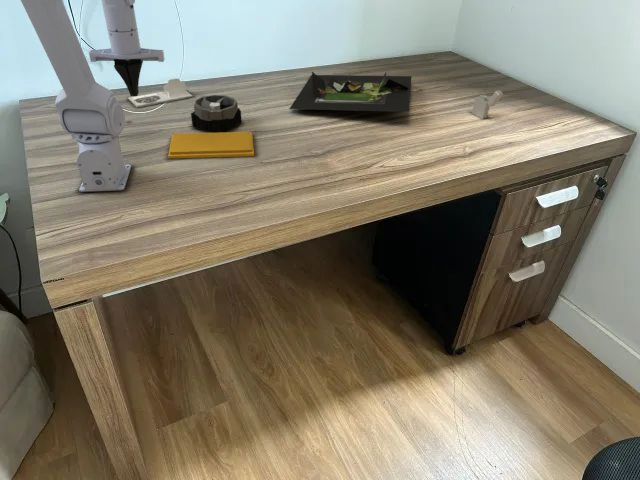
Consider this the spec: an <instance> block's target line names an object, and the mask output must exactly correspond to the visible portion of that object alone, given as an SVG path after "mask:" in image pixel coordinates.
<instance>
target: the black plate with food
mask: <svg viewBox="0 0 640 480" xmlns="http://www.w3.org/2000/svg"><path fill="white" fill-rule="evenodd" d="M412 77H413V76H412V75H387V72H384V74H383V75H351V74H349V75H346V74H345V75H344V74H343V75H341V74H316V73H315V72H314V71H311V75H310V76H309V78H308V80H306V81H307V82H306V83H305V84H304V85H303V87H302V88H301V90H300V92H299V94H298V95H297V96H296V98H295V99H294V101H293V102H292V104H291V105H290V107H289V110H311V111H313V110H314V111H316V110H318V111H354V112H355V111H356V112H358V111H359V112H360V111H361V112H392V113H393V112H394V113H395V112H397V113H398V112H399V113H409V111H410V102H411V91H412V90H411V89H412V79H413V78H412Z"/></svg>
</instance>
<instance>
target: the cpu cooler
mask: <svg viewBox="0 0 640 480" xmlns="http://www.w3.org/2000/svg"><path fill="white" fill-rule="evenodd" d="M193 110H194V111H193V112H191V113H190V117H191V125H192V127H193V129H198V130H202V131H205V132H208V133H219V132H231V130H232V129H234V128H236V127H238V126H239V125H241V124H242V110H241V108H239V107H238V101H237V100H236V99H235V98H234V97H232V96H228V95H223V94H222V95H221V94H211V95H205V96H204V95H203V96H200V97H199V98H197V99H196V100H195V101H194V104H193Z"/></svg>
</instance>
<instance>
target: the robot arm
mask: <svg viewBox="0 0 640 480" xmlns="http://www.w3.org/2000/svg"><path fill="white" fill-rule="evenodd" d="M20 2H21V4H22V6H23V8H24V10H25V13H26V15H27V17H28V19H29V20H30V23H31V25H32V27H33V29H34V31H35V33H36V35H37V38H38V39H39V42H40V44H41V46H42V49H43V50H44V52H45V54H46V56H47V58H48V60H49V62H50V65H51V67H52V68H53V71H54V73H55V75H56V77H57V79H58V81H59V83H60V85H61V88H62V89H61V90H60V91H59V92H58V94H57V95H56V98H55V101H54V106H55V108H56V111H57V114H58V115H57V116H58V120H59V121H58V122H59V124H60V126H61V127H62V129H63V131H65V132H66V133H67V134H70V136H71V139H72V140H76V143H77V147H78V155H77V159H76V165H77V168H78V171H79V174H80V178H81V184H80V187H79V189H78V190H79V192H81V193H87V192H88V193H89V192H111V191H124V190H125V189H126V185H127V182H128V178H129V176H130V172H131V169H132V165H131V164H125V161H124V160H125V159H124V156H123V151H122V146H121V142H120V137H119V136H120V135H121V134H122V133H123V131H124V128H125V124H126V115H125V111H124V108H123V106H122V105H121V103H120V102H119V101H118V100H117V98H116V97H115V94H114V92H113V91H112V90H110V89H108V88H106V87H105V86H104V85H102V84H100V83H98V82H97V81H96V79H95V77H94V74H93V72H92V70H91V67H90V64H89V63H88V60H87V57H86V56H85V55H86V54H85V52H84V50H83V48H82V45H81V43H80V40H79V38H78V36H77V33H76V31H75V28H74V26H73V24H72V21H71V19H70V16H69V14H68V11H67V9H66V6H65V4H64V2H63V0H20ZM135 3H136V0H101V5H102V10H103V15H104V20H105V25H106V29H107V35H108V39H109V45H110V48H99V49H90V50H89V51H88V56H89V60H90V63H96V62H113V63H114V64H113V68H114V70H115V71H116V73H118V75H119V76H120V78H121V79H122V81H123V82H124V84H125V86H126V88H127V91H128V93H129V95H130V96H129V97H134V96H139V82H140V75H141V70H142V67H143V63H144V62H159V63H164V62H165V53H164V49H152V48H144V47H141V43H140V42H141V41H140V35H139V30H138V24H137V18H136V12H135V5H134V4H135Z"/></svg>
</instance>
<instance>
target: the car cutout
mask: <svg viewBox="0 0 640 480" xmlns="http://www.w3.org/2000/svg"><path fill="white" fill-rule="evenodd" d="M162 87H163V88H162V89H163V90H162V91H158V92H157V91H156V92H151V93H145V94H140V95H138V96H129V97H127V98H128V100H129V101H130V102H131V103H132V104H133V105H134V106H135V107H136V108H142V107H149V106H152V105H158V104H163V103H169V102H174V101H180V100H186V99H191V98H193V97H194V96H193V94H192V93H190V92H189V91H187V90H188V88H187V85H186V82H185V81H181V80H180V79H179V78H172V79H169V80H167V83H166V84H164V85H163V86H162Z"/></svg>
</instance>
